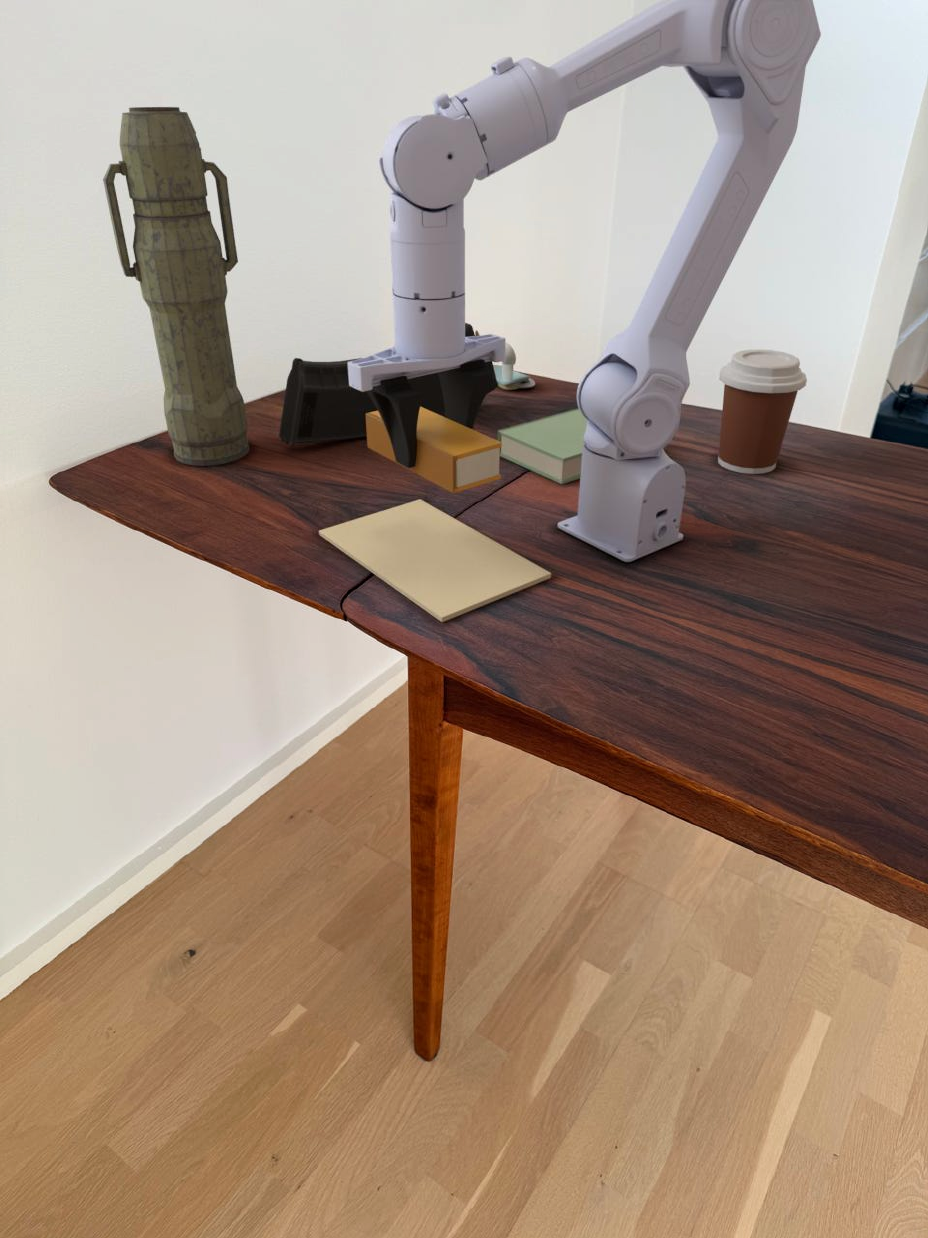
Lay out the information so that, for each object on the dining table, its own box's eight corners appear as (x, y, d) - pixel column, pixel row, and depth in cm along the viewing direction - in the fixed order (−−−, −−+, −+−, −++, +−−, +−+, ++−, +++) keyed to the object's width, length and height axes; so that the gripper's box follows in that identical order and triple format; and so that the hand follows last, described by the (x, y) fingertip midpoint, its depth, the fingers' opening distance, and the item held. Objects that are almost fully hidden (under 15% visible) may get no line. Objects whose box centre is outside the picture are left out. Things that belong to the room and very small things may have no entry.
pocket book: (367, 447, 77) (365, 413, 76) (412, 435, 80) (411, 402, 78) (453, 493, 69) (452, 456, 67) (501, 478, 71) (501, 442, 70)
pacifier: (511, 377, 127) (480, 383, 123) (513, 334, 123) (481, 339, 120) (544, 388, 122) (513, 395, 119) (548, 344, 119) (515, 349, 115)
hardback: (593, 426, 108) (595, 403, 106) (660, 451, 101) (663, 426, 99) (496, 454, 100) (497, 430, 98) (562, 484, 92) (563, 458, 91)
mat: (551, 577, 75) (551, 573, 75) (442, 622, 69) (441, 617, 68) (420, 503, 88) (420, 498, 88) (319, 535, 82) (318, 530, 82)
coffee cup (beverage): (689, 461, 98) (705, 356, 92) (735, 442, 103) (753, 342, 97) (758, 485, 92) (780, 374, 86) (803, 464, 97) (827, 358, 91)
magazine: (262, 383, 93) (473, 270, 103) (250, 376, 96) (457, 266, 105) (317, 508, 105) (502, 396, 114) (305, 499, 107) (487, 390, 116)
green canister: (273, 454, 100) (228, 107, 81) (171, 474, 95) (98, 109, 76) (250, 432, 106) (204, 105, 88) (153, 448, 101) (83, 107, 83)
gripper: (470, 274, 73) (469, 426, 80) (322, 295, 66) (336, 461, 73) (524, 287, 68) (518, 447, 76) (371, 312, 61) (381, 487, 68)
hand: (432, 456), depth 74 cm, fingers closed on pocket book, 5 cm apart
